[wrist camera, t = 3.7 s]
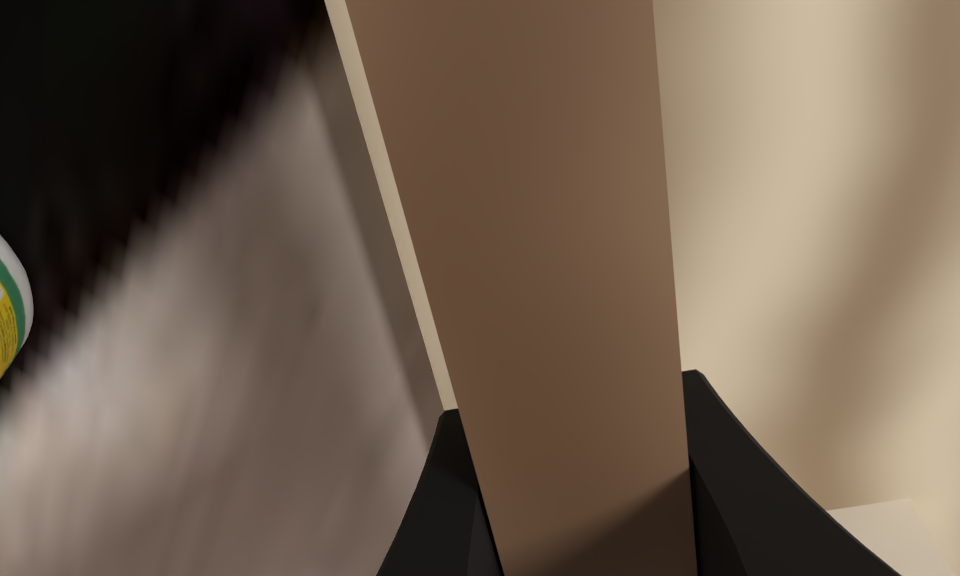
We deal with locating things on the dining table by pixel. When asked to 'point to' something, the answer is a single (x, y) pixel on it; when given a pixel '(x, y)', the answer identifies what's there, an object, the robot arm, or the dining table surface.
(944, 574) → the tile
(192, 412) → the dining table surface
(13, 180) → the dining table surface
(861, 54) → the board
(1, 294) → the supplement bottle
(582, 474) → the brown wooden bar
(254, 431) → the dining table surface
